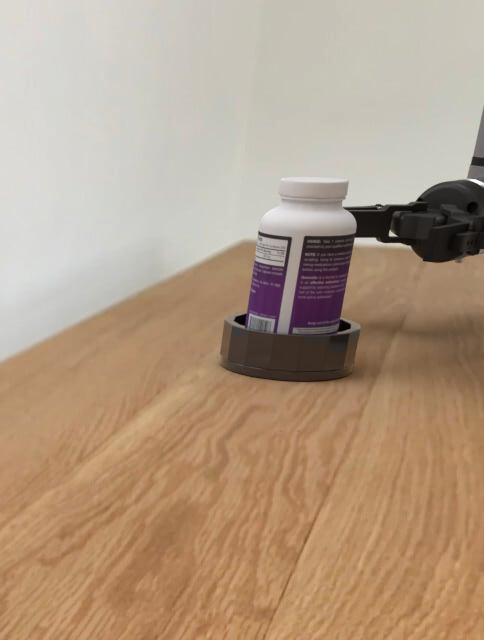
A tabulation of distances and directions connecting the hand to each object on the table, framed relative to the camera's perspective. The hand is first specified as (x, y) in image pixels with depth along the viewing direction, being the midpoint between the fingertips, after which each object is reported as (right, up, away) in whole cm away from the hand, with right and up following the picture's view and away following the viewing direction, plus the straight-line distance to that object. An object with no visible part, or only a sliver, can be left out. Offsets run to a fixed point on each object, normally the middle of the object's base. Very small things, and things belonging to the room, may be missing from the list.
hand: (357, 237), depth 101 cm
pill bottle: (-7, -11, -1) cm, 13 cm away
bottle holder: (-7, -12, 0) cm, 14 cm away
